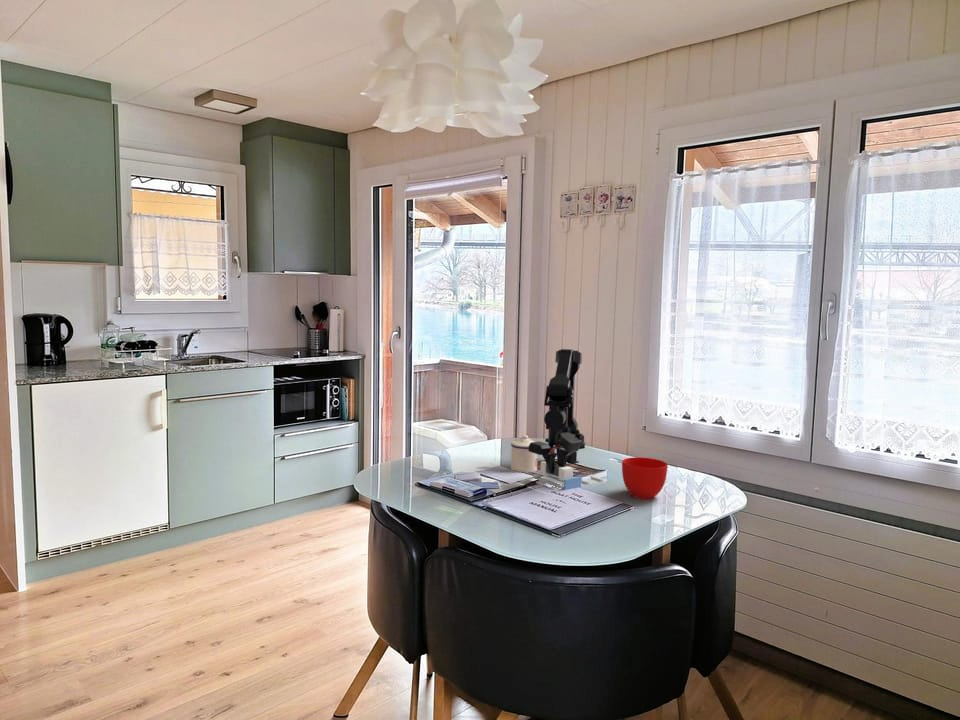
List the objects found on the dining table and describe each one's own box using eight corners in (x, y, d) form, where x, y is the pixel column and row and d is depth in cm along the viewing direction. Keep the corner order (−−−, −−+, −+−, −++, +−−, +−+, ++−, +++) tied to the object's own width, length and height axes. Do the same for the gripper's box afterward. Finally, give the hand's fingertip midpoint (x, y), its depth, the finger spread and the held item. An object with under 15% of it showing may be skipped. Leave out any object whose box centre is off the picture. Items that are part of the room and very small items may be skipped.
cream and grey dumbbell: (540, 473, 214) (540, 461, 213) (548, 471, 216) (549, 460, 215) (564, 481, 205) (564, 469, 204) (572, 479, 207) (573, 468, 206)
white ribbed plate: (526, 480, 213) (526, 470, 212) (577, 471, 225) (578, 461, 225) (558, 492, 201) (558, 481, 200) (610, 482, 213) (611, 471, 213)
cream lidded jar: (542, 472, 223) (543, 437, 222) (516, 474, 220) (517, 439, 219) (527, 463, 234) (529, 430, 233) (503, 465, 231) (504, 431, 230)
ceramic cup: (666, 488, 208) (667, 456, 207) (665, 504, 191) (667, 469, 190) (622, 484, 211) (624, 452, 210) (619, 499, 195) (620, 465, 194)
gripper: (552, 430, 197) (550, 483, 198) (598, 424, 208) (596, 474, 209) (528, 424, 206) (526, 474, 207) (573, 418, 217) (571, 466, 218)
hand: (556, 472), depth 210 cm, fingers closed on cream and grey dumbbell, 3 cm apart
